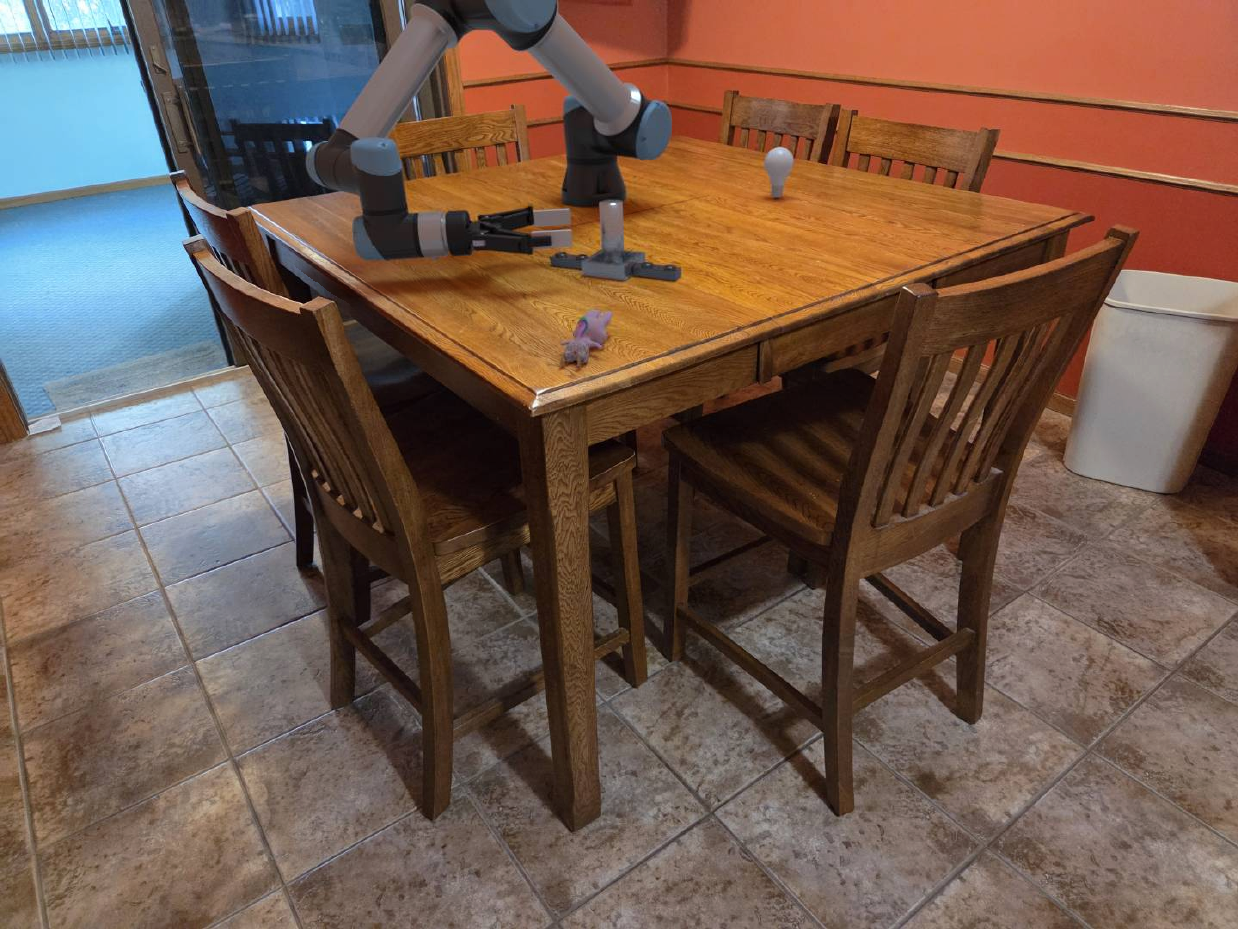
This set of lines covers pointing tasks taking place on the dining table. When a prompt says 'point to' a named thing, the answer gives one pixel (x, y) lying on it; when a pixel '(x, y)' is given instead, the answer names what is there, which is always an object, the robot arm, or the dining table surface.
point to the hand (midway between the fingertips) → (571, 226)
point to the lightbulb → (778, 169)
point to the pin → (612, 231)
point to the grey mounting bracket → (616, 266)
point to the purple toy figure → (586, 337)
